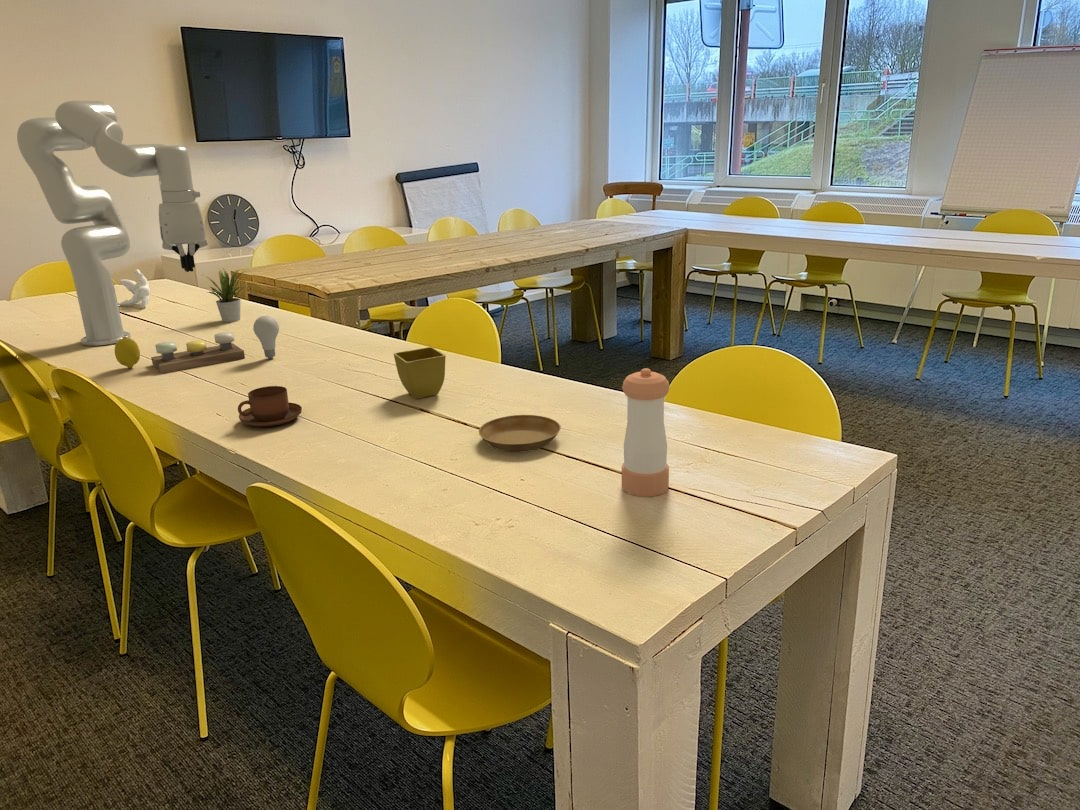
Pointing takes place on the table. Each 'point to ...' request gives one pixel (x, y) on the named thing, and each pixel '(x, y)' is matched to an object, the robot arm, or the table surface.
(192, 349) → the yellow button
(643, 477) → the pepper shaker
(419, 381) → the flower pot
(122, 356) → the lemon
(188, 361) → the button board
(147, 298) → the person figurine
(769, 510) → the table surface
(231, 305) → the house plant
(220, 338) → the grey button
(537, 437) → the plant saucer
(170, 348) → the sage button
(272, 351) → the lightbulb
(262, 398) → the cup and saucer
